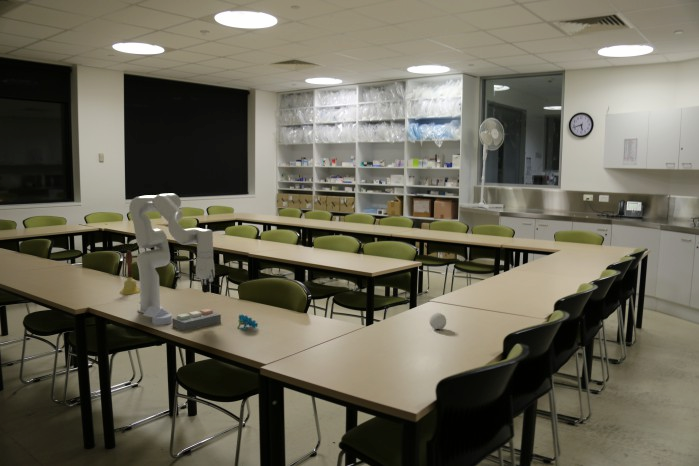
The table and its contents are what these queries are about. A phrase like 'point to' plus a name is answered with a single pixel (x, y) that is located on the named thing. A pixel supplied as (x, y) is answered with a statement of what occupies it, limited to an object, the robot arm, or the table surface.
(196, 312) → the button
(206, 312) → the button
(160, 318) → the wedge on round base
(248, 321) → the blue flower cluster
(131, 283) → the handbell
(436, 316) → the ball
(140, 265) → the robot arm
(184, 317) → the button
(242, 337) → the table surface
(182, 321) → the button panel
